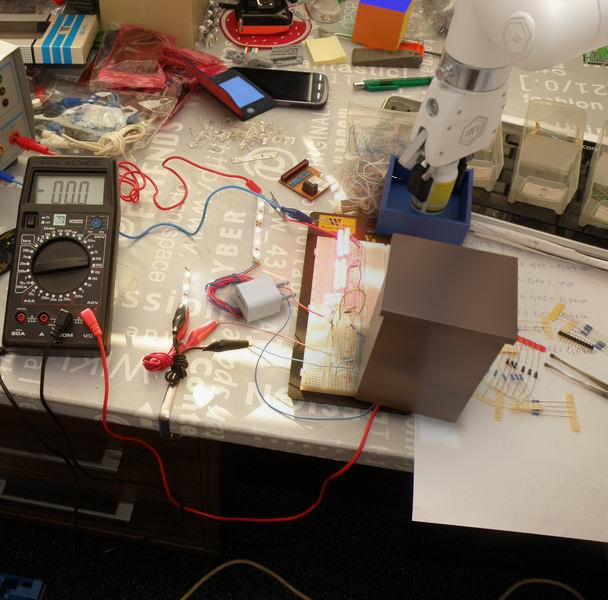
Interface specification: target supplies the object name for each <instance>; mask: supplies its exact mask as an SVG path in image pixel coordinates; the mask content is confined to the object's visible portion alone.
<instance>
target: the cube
mask: <svg viewBox="0 0 608 600" xmlns="http://www.w3.org/2000/svg"><path fill="white" fill-rule="evenodd" d="M414 5H415V0H359V1H358V4H357V10H356V15H355V19H354V26H353V30H352V35H351V43H355V44H358V45H359V44H360V45H364V46H367V47H373V48H376V49H380V50H385V51H389V52H393V53H397V50H398V49H399V46H400V45H401V43H402V41H403V39H404V36H405V34H406V32H407V30H408V27H409V22H410V19H411V16H412V11H413V7H414Z"/></svg>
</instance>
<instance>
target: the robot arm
mask: <svg viewBox="0 0 608 600" xmlns="http://www.w3.org/2000/svg"><path fill="white" fill-rule="evenodd" d="M455 3H456V4H455V7H454V11H453V14H452V16H451V21H450V24H449V27H448V31H447V34H446V38H445V42H444V44H443V48H442V51H441V55H440V58H439V62H438V65H437V69H436V70H435V75H434V76H433V78H432V80H431V82H430V84H429V86H428V88H427V90H426V92H425V94H424V97H423V99H422V102H421V105H420V107H419V110H418V112H417V114H416V117H415V120H414V124H413V127H412V130H411V133H410V139H409V146H408V147H407V148H406V149H405V151H404V152H403V153H402V154H401V155H400V156H401V157H400V158H399V160H398V162H399V163H400V164H401V165H402V166H404V167H405V168H406V169H409V170H412V173H411V177H410V180H409V183H408V187H407V190H408V191H409V192H410V193H411V194H412V195H413V196H414V197H415V198H416V199H417V200H419V201H420V202H421V203H424V202H426V200H427V198H428V195H429V192H430V189H431V186H432V183H433V180H434V179H433V178H432V177H431V176H432V174H433V172H434V170H435V168H436V167H439V166H443V165H446V164H448V163H451V162H453V161H455V160H458V159H460V160H459V163H458V166H457V169H458V175H457V178H456V181H455V184H454V186H453V188H458V187H459V186H460V184H461V181H462V179H463V176H464V173H465V171H466V168H468V163H470V162H472V161H473V159H474V157H475V153H477V152H479V151H480V150H481V151H482V150H483V149H485V148H487V147H488V146H489V145H490V144H491V143H492V142H493V140H494V138H495V136H496V133H497V131H498V128H499V125H500V122H501V120H502V116H503V113H504V110H505V107H506V103H507V100H508V95H509V90H510V85H511V71H512V68H513V66H515V67H516V68H519V69H521V70H523V71H527V72H540V71H545V70H548V69H551V68H554V67H557V66H559V65H562V64H564V63H566V62H569V61H571V60H574V59H576V58H578V57H581V56H583V55H586V54H588V53H591V52H594V51H597V50H598V49H602V48H604V47H607V46H608V0H456V2H455ZM422 160H423V161H424V160H426V162H427V163H428V164H427V166H426V168H425V167H424V166H423V165H421V162H422Z"/></svg>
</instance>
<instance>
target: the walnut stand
mask: <svg viewBox="0 0 608 600" xmlns="http://www.w3.org/2000/svg"><path fill="white" fill-rule="evenodd" d="M386 265H387V266H386V271H385V275H384V278H383V281H382V284H381V288H380V290H379V293H378V296H377V299H376V302H375V305H374V308H373V311H372V314H371V317H370V321H369V322H368V323H369V324H368V326H367V330H366V332H365V336H364V340H363V341H364V342H363V347H362V353H361V358H360V364H359V371H358V376H357V382H356V387H355V392H354V394H355V395H354V399H355V400H358V401H362V402H367V403H370V404H374V405H379V406H383V407H388V408H391V409H395V410H399V411H402V412H407V413H411V414H416V415H419V416H423V417H429V418H431V419H436V420H440V421H444V422H447V423H448V422H449V423H453V424H455V423H456V422H457V421H458V419H459V417H460V416H461V414H462V413H463V411H464V410H465V408H466V406H467V404H468V403H469V402H470V400H471V398H472V397H473V395H474V394H475V392H476V390H477V389H478V387H479V386H480V384H481V382H482V381H483V380H484V378H485V377H486V375H487V373H488V372H489V370H490V369H491V367H492V365H493V364H494V362H495V361H496V360H497V358H498V356H499V355H500V353H501V351H502V350H503V348H504V347H505V346H506V345H509V346H515V344H516V343H517V341H518V340H519V339H518V338H519V337H518V336H519V335H518V333H519V332H518V331H519V330H518V328H519V327H518V322H519V317H518V316H519V315H518V313H519V257H517V256H513V255H512V256H511V255H507V254H502V253H496V252H491V251H487V250H482V249H477V248H472V247H467V246H463V245H462V246H457V245H452V244H447V243H442V242H437V241H432V240H427V239H422V238H417V237H412V236H407V235H402V234H397V233H393V236H392V237H391V239H390V246H389V252H388V257H387V263H386Z"/></svg>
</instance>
